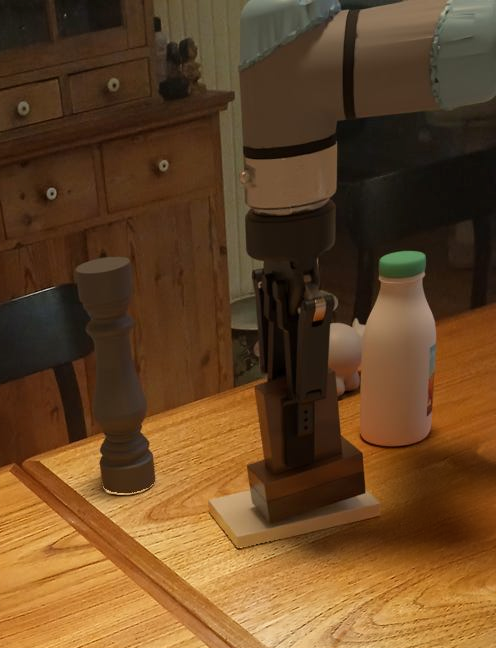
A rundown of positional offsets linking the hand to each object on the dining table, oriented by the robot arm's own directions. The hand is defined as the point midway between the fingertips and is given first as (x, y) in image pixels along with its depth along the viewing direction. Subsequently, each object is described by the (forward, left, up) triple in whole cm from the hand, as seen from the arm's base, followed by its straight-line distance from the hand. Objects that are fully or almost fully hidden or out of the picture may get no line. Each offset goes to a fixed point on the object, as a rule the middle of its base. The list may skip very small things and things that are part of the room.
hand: (292, 455), depth 97 cm
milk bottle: (-18, -14, -8) cm, 24 cm away
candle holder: (+13, -17, -8) cm, 23 cm away
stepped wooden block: (-2, 0, -5) cm, 5 cm away
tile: (-1, -2, -8) cm, 8 cm away
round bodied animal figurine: (-20, -31, -8) cm, 38 cm away
